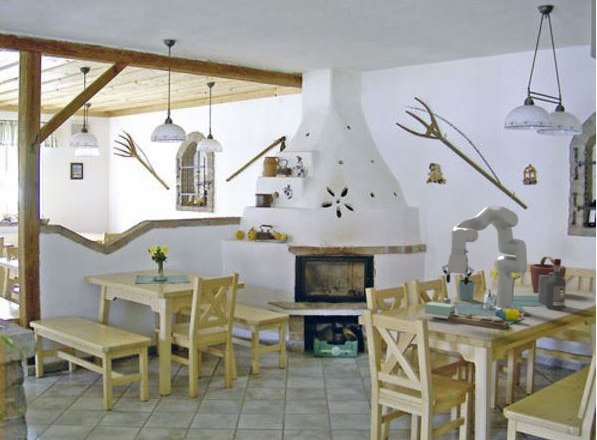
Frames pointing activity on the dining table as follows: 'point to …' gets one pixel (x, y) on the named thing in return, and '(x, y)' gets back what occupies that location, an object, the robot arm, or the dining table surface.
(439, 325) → the dining table surface
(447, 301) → the pin
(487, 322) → the pin board
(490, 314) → the dining table surface
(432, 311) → the cover
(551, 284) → the liquor
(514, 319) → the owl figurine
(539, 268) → the bucket
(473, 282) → the drinking glass
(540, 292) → the hip flask
